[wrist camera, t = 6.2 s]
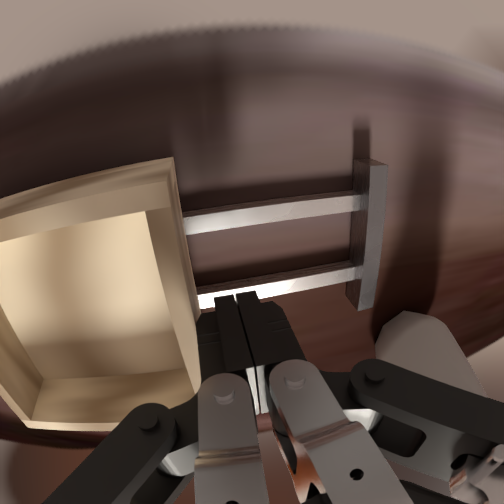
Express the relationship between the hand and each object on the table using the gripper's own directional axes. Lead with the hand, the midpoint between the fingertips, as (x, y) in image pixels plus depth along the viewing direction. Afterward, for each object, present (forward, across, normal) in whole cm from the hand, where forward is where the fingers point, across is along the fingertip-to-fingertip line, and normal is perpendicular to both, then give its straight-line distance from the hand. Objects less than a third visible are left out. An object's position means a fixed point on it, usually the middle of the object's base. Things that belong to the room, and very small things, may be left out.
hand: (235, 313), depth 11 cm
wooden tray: (+5, +7, 0) cm, 8 cm away
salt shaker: (+5, -12, +9) cm, 15 cm away
